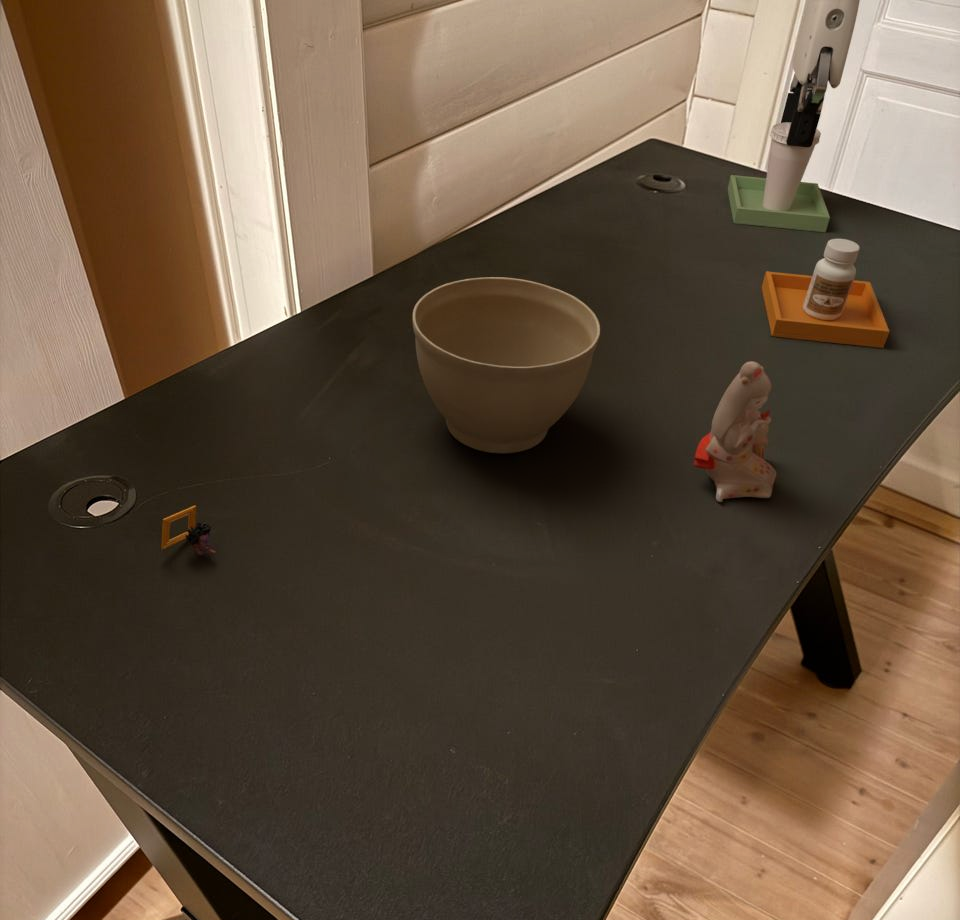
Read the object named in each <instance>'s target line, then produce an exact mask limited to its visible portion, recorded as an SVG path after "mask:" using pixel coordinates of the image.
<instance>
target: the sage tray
mask: <svg viewBox="0 0 960 920" xmlns="http://www.w3.org/2000/svg"><path fill="white" fill-rule="evenodd" d="M765 184H766V177H757V176H756V177H755V176H747V175H746V176H745V175H735V174H730V177H729V181H728V186H727V195H728V200H729V206H730V211H731V215H732V216H731V217H732V222H733V224H736V225H737V224H738V225H747V226H757V227H766V228H778V229H786V230H797V231H805V232H817V233H826V232H827V229H828V225H829V222H830V219H831V216H830V214H829V210H828V208H827V205H826V203H825V200H824V197H823V193H822V191H821V189H820V186H819V184H818V183H816V182H807V181H806V182H805V181H801V182H800V185H799V187H798V190H797V192H796V195H795V197H794V200H793V202H792V205H791V207H790V209H789V210H788V211H777V210H768V209H766V208H764V207H763V199H764V192H765Z"/></svg>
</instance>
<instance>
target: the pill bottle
mask: <svg viewBox="0 0 960 920" xmlns="http://www.w3.org/2000/svg"><path fill="white" fill-rule="evenodd" d="M859 252H860V245H859V244H858V243H856V242H855V241H852V240H850V239H845V238H832V239H829V240H828V241H827V243H826V246H825V249H824V252H823V257H824V258H821V259H819V260H818V261H817V262H816V264H815V267H814V270H813V273H812V275H811V276H812V279H811V282H810V285H809V289H808V292H807V295H806V298H805V301H804V304H803V309H804V311H805V312H806V313H807V314H808V315H809V316H811V317H814V318H816V319H821V320H834V319H837V318H839V317H840V316H841V314H842V312H843V309H844V306H845V304H846V301H847V298H848V295H849V292H850V289H851V286H852V283H853V281H854V280H855V278H856V275H857V268H856V266H855V265H854V263H856V261H857V258H858V255H859Z"/></svg>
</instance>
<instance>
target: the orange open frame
mask: <svg viewBox="0 0 960 920" xmlns="http://www.w3.org/2000/svg"><path fill="white" fill-rule="evenodd" d="M187 516H188V517H187ZM185 517H187V519H188V520H187V529H186V532H183V533H181V534H179V535H176V536H175V537H172V538H171V537H170V534H171V524H172V523H173V522H176V521H178V520H180V519H183V518H185ZM196 517H197V505H192V506H189V507H188V508H185V509H183V510H180V511H178V512H176V513H173V514H171V515H169V516H167V517H165V518H163V519H162V528H161V546H160V547H161V548H160V549H161V550H166V549H168V548H170V547H172V546H174V545H176V544H178V543H181V542H182V541H185V540H186V543H187V544H189V545H191V546H192V547H193V551H194V552H195V553H196V554H197V555H199V556H201V555H205V552H209V553H211V554H216V553H217V552H216V550H214V549H211V548H210V546H211V543H210V535H212V533H211V529H212V526H210V524H209V523H206V522H203V523H202V522H197V524H196V520H197V519H196Z"/></svg>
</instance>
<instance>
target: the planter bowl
mask: <svg viewBox="0 0 960 920" xmlns="http://www.w3.org/2000/svg"><path fill="white" fill-rule="evenodd" d="M412 328H413V333H414V336H415V352H416V353H415V354H416V358H417V359H416V360H417V364H418V368H419V372H420V376H421V378H422V381H423V384H424V387H425V388H426V391H427V393H428V395H429V396H430V399H431V401H433V404H434V406H435V407H436V408H437V410H438V411H439V413H440V414H441V415H442V416H443V418H444V419H445V424H446V427H447V429H448V431H449V433H450V434H451V435H452V437H453V438H455V440H457V441H458V442H459V443H460V444H463V445H465V446H467V447H469V448H472V449H473V450H477V451H480V452H483V453H484V452H485V453H490V454H515V453H519V452H520V453H521V452H524V451H527V450H531V449H532V448H534V447H536V446H537V445H539V444H540V443H542V441H543V440H544V439H545V438H546V436H547V434H548V432H549V429H550V428H551V427H552V426H554V425H555V423H557V422H558V421H559V420H560V419H561V417H563V416H564V414H565V413H566V412H568V410H569V408H571V406H572V404H573V403H574V402H575V401H576V399H577V397H578V395H580V392H581V391H582V388H583V386H584V384H585V382H586V379H587V377H588V374H589V372H590V369H591V365H592V362H593V357H594V352H595V351H596V349H597V346H598V344H599V341H600V336H601V325H600V321H599V319H598V317H597V315H596V314H595V312H594V311H593V310H592V309H591V308H590V307H589V306H588V305H587V304H586V303H584V302H583V301H581V299H579V298H578V297H576V296H575V295H572V294H570V293H567V292H565V291H563V290H561V289H558V288H556V287H554V286H553V287H552V286H550V285H547V284H543V283H540V282H536V281H532V280H527V279H522V278H513V277H505V276H504V277H503V276H502V277H497V276H496V277H494V276H490V277H487V276H485V277H473V278H465V279H459V280H455V281H451V282H447V283H445V284H442V285H440V286H437V287H435V288H433V289H431V290H430V291H428V292H427V293H425V294H424V295H422V296H421V298H420V299H418V301H417V302H416V304H415V305H414V308H413V310H412Z"/></svg>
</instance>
